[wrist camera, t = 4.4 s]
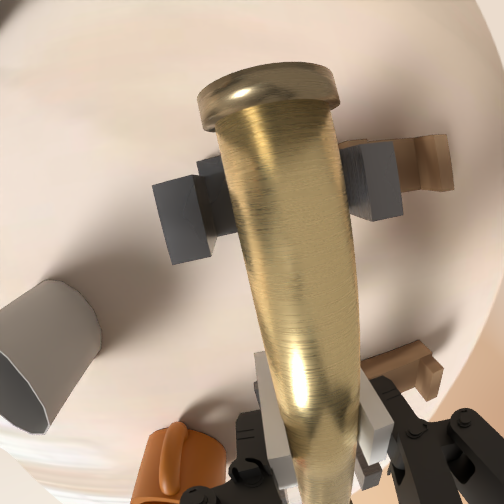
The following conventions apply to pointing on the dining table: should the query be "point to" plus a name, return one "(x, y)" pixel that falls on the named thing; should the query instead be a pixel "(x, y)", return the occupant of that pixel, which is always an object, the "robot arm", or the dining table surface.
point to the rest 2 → (407, 369)
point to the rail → (296, 257)
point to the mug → (178, 465)
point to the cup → (44, 353)
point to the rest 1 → (419, 162)
